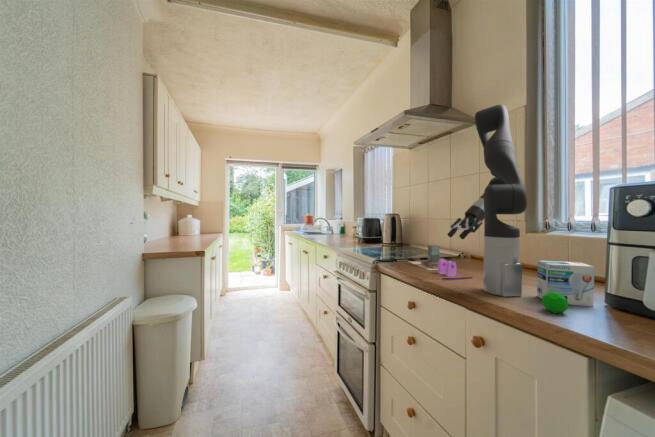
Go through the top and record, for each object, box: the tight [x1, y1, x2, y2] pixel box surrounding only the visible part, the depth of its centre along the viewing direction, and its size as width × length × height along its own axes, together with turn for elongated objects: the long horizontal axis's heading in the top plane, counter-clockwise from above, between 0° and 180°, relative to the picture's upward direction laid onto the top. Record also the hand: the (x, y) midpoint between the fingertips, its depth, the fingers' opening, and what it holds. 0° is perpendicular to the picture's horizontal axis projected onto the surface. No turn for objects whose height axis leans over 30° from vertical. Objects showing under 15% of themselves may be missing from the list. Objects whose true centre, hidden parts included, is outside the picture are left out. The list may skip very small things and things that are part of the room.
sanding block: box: [420, 244, 441, 269], centre depth 117 cm, size 10×6×9 cm, turn 9°
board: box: [407, 260, 438, 271], centre depth 121 cm, size 20×11×2 cm, turn 9°
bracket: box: [437, 258, 473, 281], centre depth 103 cm, size 13×6×7 cm, turn 108°
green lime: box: [541, 292, 569, 314], centre depth 67 cm, size 5×5×5 cm
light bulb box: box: [536, 259, 596, 307], centre depth 76 cm, size 11×7×11 cm, turn 73°
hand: (454, 236), depth 118 cm, fingers open, 8 cm apart
